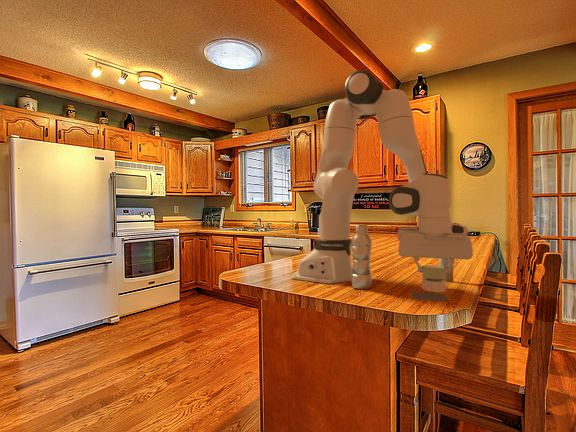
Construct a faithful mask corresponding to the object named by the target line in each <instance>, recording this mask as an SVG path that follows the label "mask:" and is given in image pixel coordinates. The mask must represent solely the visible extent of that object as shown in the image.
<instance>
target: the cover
mask: <svg viewBox="0 0 576 432" xmlns="http://www.w3.org/2000/svg"><path fill="white" fill-rule="evenodd" d="M421 266H423V272H421V274H422V278H429V279H446V270H445V269H444V267H443V266H439V265H423V264H422V265H421Z"/></svg>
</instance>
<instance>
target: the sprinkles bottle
mask: <svg viewBox="0 0 576 432" xmlns="http://www.w3.org/2000/svg"><path fill="white" fill-rule="evenodd" d="M449 263H450V262H449V261H448V259H446V258H438V266H443V267H447V266H448V264H449ZM445 280H446V283H451V284H452V283H454V265H453V266H452V267H451V268H450V274H446V279H445Z"/></svg>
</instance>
